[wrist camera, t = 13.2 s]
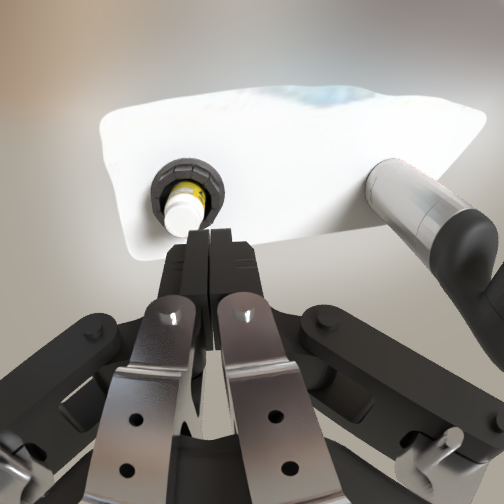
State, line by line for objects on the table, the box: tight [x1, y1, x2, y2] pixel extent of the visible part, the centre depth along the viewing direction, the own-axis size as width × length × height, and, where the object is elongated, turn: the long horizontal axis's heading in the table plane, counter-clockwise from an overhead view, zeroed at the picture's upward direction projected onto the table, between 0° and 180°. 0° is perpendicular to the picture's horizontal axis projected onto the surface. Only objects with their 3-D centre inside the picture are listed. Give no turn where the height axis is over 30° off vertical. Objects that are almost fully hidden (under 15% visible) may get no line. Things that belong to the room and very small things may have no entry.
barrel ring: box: [151, 158, 225, 230], centre depth 38 cm, size 10×10×3 cm
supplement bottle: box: [164, 178, 206, 238], centre depth 36 cm, size 5×5×8 cm
